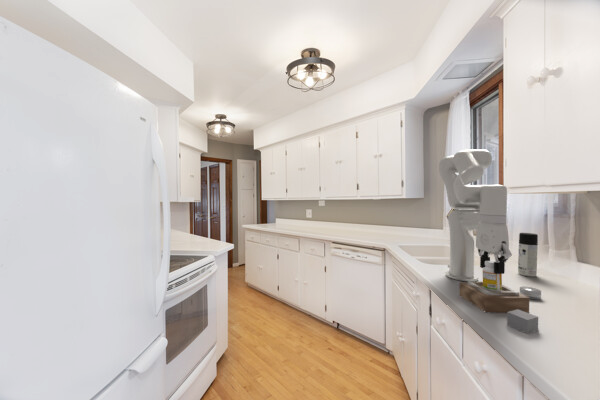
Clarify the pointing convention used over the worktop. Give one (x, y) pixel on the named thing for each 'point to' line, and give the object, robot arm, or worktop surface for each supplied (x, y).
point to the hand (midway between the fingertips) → (491, 270)
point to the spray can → (528, 254)
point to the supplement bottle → (491, 277)
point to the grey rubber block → (522, 321)
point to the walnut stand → (493, 298)
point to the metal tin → (531, 293)
